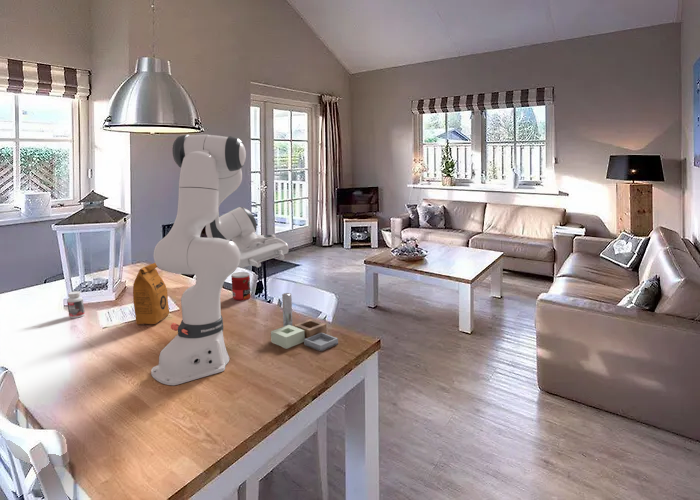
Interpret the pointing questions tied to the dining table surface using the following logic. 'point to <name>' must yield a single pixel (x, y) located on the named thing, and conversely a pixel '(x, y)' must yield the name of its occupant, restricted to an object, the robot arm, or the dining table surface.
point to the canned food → (241, 286)
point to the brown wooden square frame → (311, 327)
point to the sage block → (287, 336)
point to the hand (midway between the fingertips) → (271, 261)
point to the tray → (321, 341)
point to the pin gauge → (287, 309)
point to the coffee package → (150, 296)
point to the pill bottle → (75, 305)
